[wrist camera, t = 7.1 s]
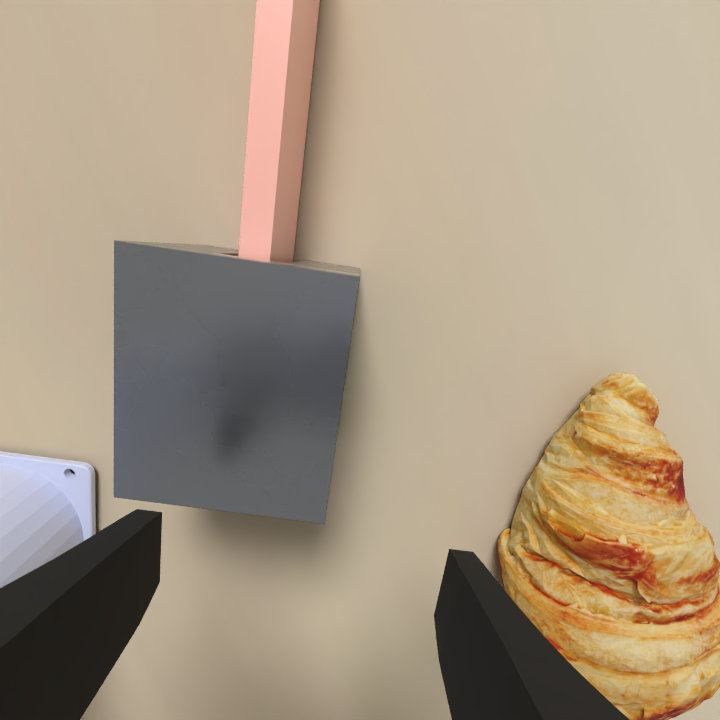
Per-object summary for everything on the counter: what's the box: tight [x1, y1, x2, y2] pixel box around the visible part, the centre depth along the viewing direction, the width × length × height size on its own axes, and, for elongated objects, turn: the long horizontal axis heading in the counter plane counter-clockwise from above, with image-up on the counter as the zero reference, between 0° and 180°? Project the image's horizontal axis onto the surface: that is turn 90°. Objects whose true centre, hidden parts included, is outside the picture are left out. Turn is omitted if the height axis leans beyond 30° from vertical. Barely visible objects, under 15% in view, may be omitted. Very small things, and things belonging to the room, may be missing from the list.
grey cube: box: [114, 240, 360, 524], centre depth 16 cm, size 7×8×7 cm
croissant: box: [498, 372, 720, 720], centre depth 20 cm, size 21×10×8 cm, turn 4°
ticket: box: [238, 0, 320, 263], centre depth 14 cm, size 1×13×5 cm, turn 172°
